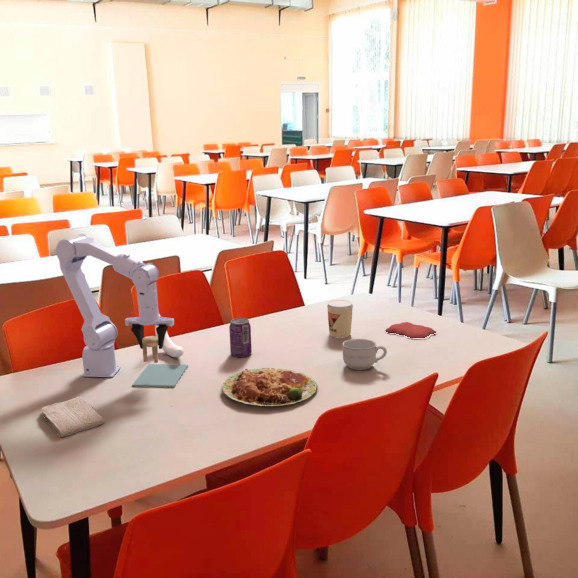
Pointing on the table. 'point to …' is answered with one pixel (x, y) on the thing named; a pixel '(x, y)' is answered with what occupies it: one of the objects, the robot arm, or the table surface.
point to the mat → (160, 375)
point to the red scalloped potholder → (410, 330)
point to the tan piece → (150, 342)
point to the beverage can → (240, 337)
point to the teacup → (361, 353)
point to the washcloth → (71, 416)
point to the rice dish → (268, 386)
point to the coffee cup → (340, 318)
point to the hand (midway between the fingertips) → (151, 347)
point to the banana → (170, 346)
